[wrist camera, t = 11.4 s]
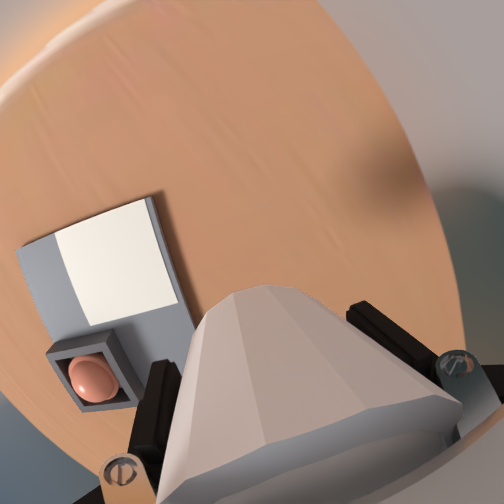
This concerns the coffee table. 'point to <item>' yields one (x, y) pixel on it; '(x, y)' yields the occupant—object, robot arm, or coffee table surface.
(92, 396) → the dome
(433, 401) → the shot glass
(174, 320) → the board
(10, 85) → the coffee table surface
